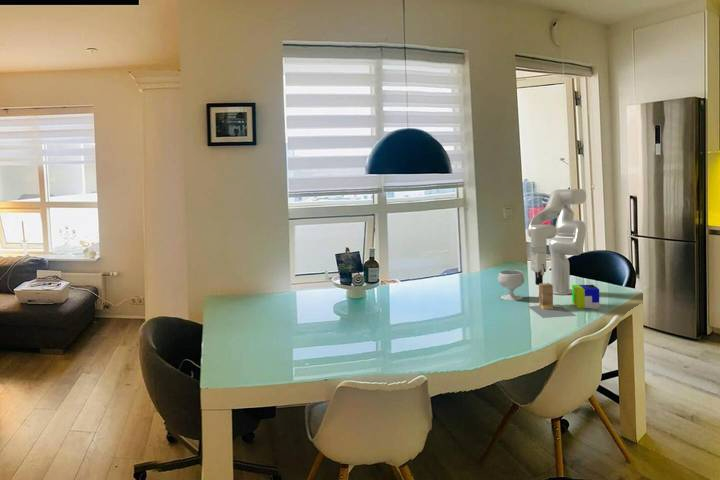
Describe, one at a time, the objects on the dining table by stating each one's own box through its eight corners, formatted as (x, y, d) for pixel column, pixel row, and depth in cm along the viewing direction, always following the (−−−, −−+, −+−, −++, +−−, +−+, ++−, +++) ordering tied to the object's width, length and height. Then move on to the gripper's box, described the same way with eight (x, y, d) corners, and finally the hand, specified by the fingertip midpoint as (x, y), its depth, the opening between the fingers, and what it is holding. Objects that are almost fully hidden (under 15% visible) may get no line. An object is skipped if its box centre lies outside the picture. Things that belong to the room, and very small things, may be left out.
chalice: (530, 298, 248) (529, 271, 246) (514, 303, 240) (513, 276, 239) (508, 294, 260) (508, 268, 258) (493, 298, 252) (492, 272, 250)
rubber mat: (527, 307, 231) (527, 306, 231) (558, 305, 231) (558, 304, 231) (542, 319, 211) (542, 317, 211) (576, 316, 211) (576, 315, 211)
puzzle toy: (599, 309, 221) (599, 289, 220) (577, 309, 223) (577, 289, 222) (593, 303, 231) (592, 284, 229) (572, 303, 233) (572, 285, 231)
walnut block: (539, 306, 229) (538, 283, 228) (548, 305, 229) (548, 283, 228) (543, 309, 225) (542, 285, 223) (553, 308, 224) (552, 285, 223)
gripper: (526, 248, 239) (526, 282, 241) (537, 252, 224) (537, 288, 226) (540, 247, 239) (540, 281, 241) (552, 251, 224) (552, 287, 226)
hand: (539, 284), depth 233 cm, fingers closed
